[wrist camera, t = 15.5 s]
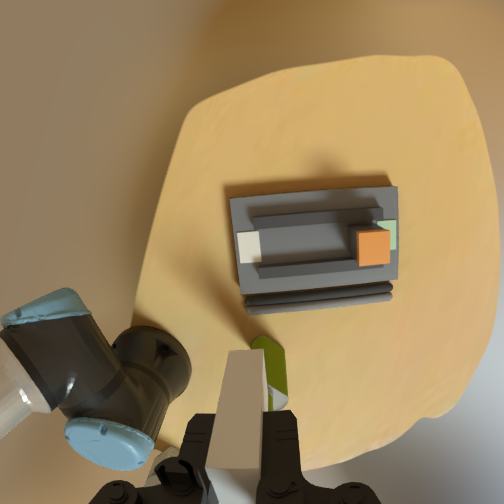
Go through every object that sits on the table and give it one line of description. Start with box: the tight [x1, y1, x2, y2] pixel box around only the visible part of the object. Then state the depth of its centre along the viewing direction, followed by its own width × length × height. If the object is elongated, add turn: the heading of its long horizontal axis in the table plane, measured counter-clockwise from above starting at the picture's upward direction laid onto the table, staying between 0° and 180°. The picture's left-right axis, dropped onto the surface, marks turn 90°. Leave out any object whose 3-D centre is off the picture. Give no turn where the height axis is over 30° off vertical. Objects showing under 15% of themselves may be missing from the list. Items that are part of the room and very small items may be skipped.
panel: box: [230, 186, 399, 294], centre depth 45 cm, size 24×14×4 cm, turn 96°
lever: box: [348, 223, 390, 266], centre depth 41 cm, size 4×4×6 cm
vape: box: [251, 336, 288, 411], centre depth 43 cm, size 4×6×20 cm, turn 52°
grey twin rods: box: [245, 283, 393, 315], centre depth 49 cm, size 23×3×1 cm, turn 96°
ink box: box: [144, 446, 180, 487], centre depth 56 cm, size 9×9×12 cm
